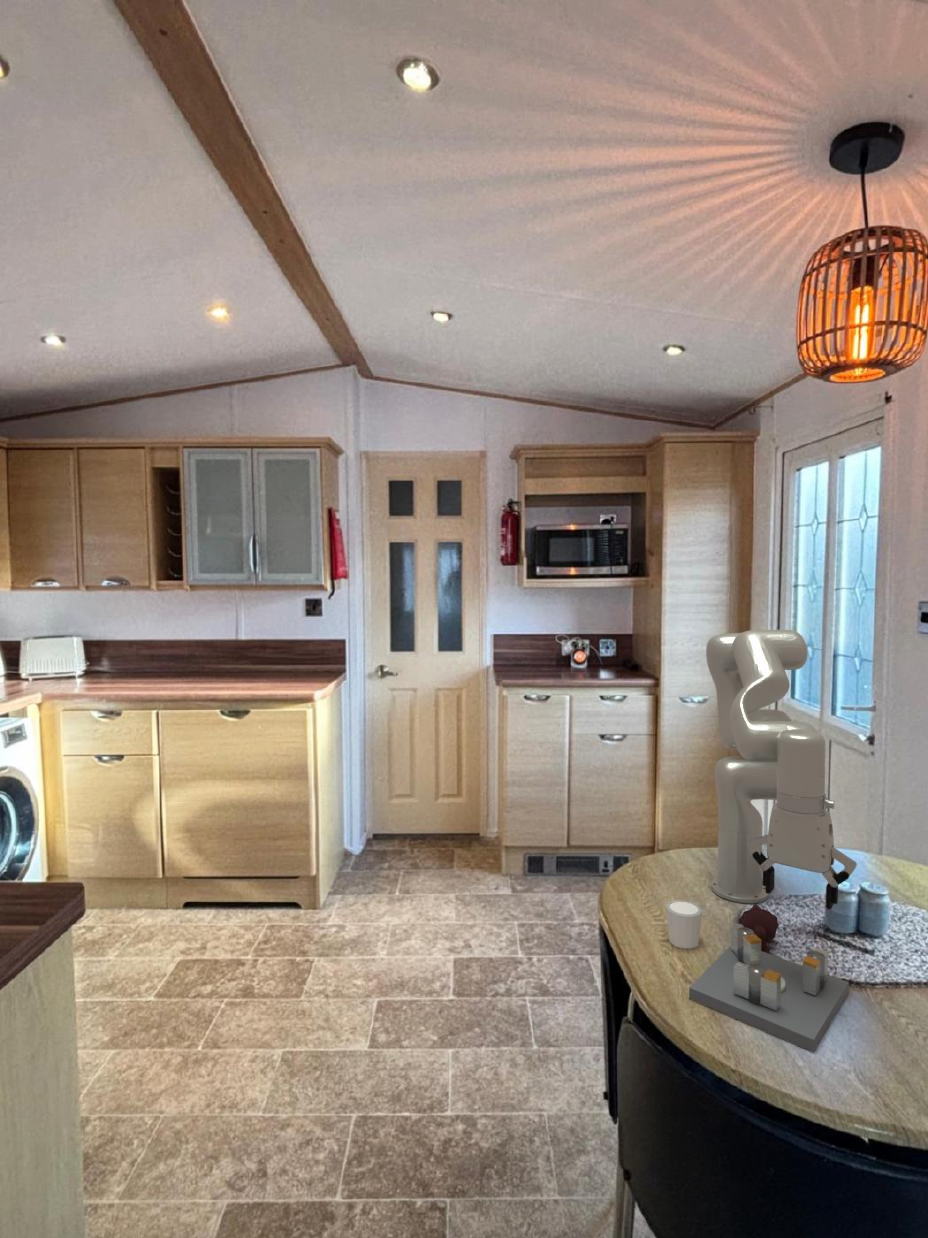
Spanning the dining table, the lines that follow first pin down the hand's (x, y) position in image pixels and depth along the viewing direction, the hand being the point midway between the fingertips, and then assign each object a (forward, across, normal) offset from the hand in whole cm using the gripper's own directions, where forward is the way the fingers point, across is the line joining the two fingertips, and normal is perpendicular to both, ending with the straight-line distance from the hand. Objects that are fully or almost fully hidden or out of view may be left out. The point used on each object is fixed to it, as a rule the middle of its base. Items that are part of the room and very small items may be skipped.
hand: (799, 898), depth 118 cm
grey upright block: (+15, +9, -1) cm, 18 cm away
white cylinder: (+17, +22, -4) cm, 28 cm away
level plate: (+17, +4, +4) cm, 18 cm away
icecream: (+17, +10, -14) cm, 24 cm away
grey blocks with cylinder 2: (+15, -3, 0) cm, 15 cm away
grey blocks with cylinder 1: (+15, +4, +10) cm, 19 cm away
